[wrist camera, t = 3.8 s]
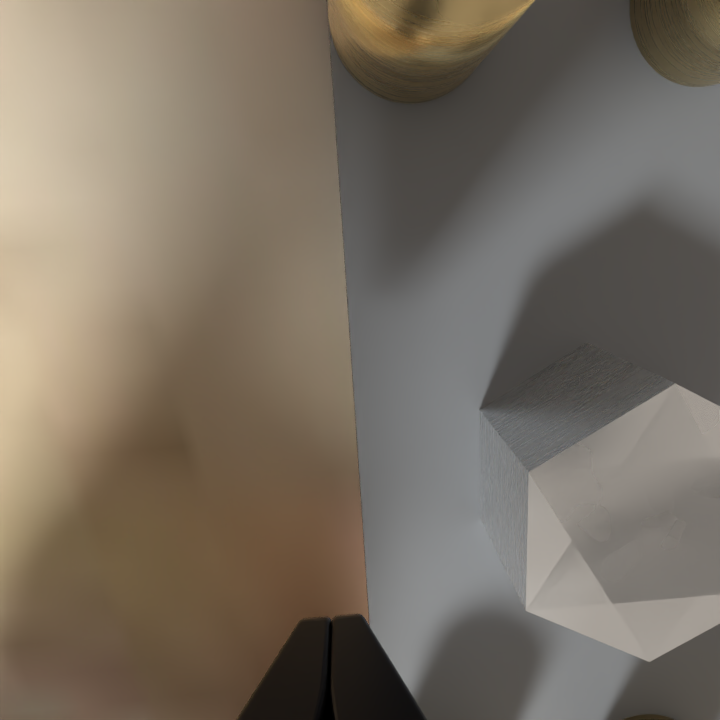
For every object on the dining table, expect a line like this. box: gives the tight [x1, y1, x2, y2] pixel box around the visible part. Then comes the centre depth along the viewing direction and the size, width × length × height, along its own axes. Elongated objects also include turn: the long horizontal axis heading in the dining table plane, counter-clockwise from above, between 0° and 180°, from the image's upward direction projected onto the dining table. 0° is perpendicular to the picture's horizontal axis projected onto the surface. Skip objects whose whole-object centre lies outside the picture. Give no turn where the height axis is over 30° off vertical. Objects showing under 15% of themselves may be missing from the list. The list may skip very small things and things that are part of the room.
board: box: [327, 0, 720, 720], centre depth 12 cm, size 14×22×1 cm, turn 3°
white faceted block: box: [479, 342, 720, 662], centre depth 10 cm, size 5×5×3 cm
